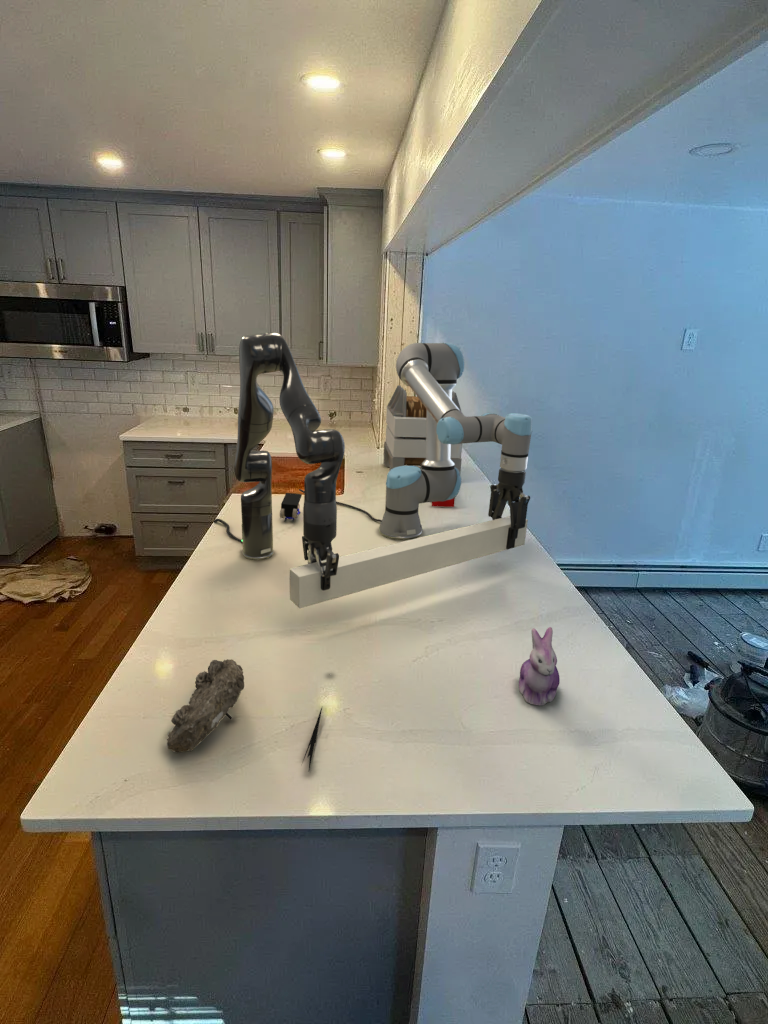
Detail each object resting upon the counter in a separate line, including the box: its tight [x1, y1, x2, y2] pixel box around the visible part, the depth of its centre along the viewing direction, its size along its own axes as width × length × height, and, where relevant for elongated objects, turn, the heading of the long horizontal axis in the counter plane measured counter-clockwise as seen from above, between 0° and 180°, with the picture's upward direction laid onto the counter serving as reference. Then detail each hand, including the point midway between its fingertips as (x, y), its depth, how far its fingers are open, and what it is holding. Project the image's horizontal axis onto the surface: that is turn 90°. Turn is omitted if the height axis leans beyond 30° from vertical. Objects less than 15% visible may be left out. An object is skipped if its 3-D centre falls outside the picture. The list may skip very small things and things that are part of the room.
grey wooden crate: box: [383, 384, 463, 476], centre depth 268 cm, size 34×33×41 cm
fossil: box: [166, 658, 245, 754], centre depth 106 cm, size 22×10×15 cm
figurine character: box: [279, 492, 302, 523], centre depth 209 cm, size 7×8×15 cm
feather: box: [301, 673, 332, 771], centre depth 108 cm, size 2×28×2 cm
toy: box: [431, 496, 456, 508], centre depth 240 cm, size 12×13×30 cm
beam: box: [289, 515, 529, 609], centre depth 151 cm, size 75×5×8 cm, turn 125°
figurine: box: [518, 626, 561, 706], centre depth 117 cm, size 9×10×15 cm
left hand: (319, 584), depth 134 cm, fingers closed on beam, 5 cm apart
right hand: (503, 544), depth 169 cm, fingers closed on beam, 5 cm apart
